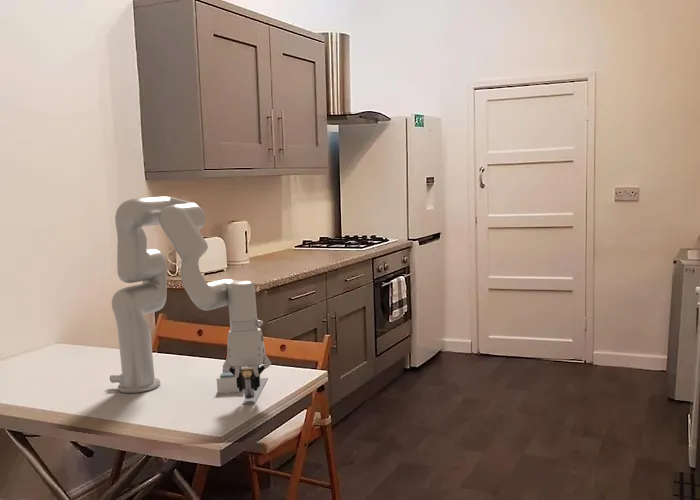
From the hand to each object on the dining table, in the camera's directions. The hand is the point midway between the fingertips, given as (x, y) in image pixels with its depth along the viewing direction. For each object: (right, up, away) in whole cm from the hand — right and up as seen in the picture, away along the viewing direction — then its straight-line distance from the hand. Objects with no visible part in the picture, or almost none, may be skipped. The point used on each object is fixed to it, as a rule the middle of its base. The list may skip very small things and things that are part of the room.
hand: (248, 389), depth 195 cm
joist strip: (+1, -3, +10) cm, 11 cm away
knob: (0, -2, 0) cm, 2 cm away
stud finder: (-7, -3, +13) cm, 15 cm away
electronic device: (-6, -2, +28) cm, 29 cm away
